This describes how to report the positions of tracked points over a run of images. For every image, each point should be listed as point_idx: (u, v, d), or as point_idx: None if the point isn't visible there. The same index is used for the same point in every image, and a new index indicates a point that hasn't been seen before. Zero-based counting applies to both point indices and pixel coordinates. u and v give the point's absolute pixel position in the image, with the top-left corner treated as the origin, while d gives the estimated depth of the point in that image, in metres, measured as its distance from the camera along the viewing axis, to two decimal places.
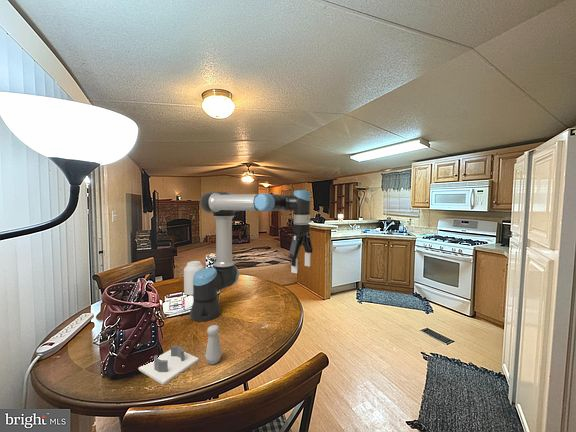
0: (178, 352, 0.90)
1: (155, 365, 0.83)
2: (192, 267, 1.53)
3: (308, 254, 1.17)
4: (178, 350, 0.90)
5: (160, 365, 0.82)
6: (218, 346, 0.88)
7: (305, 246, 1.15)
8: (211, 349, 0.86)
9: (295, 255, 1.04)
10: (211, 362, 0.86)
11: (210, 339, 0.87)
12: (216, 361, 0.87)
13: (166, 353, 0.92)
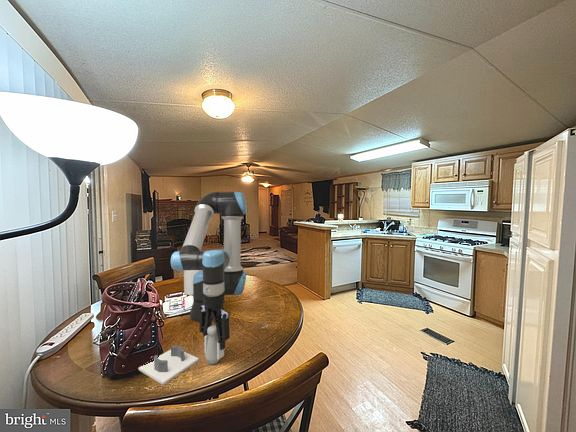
0: (178, 352, 0.90)
1: (155, 365, 0.83)
2: None
3: None
4: (178, 350, 0.90)
5: (160, 365, 0.82)
6: None
7: None
8: (211, 349, 0.86)
9: (203, 331, 0.90)
10: (211, 362, 0.86)
11: (210, 339, 0.87)
12: (217, 361, 0.87)
13: (166, 353, 0.92)
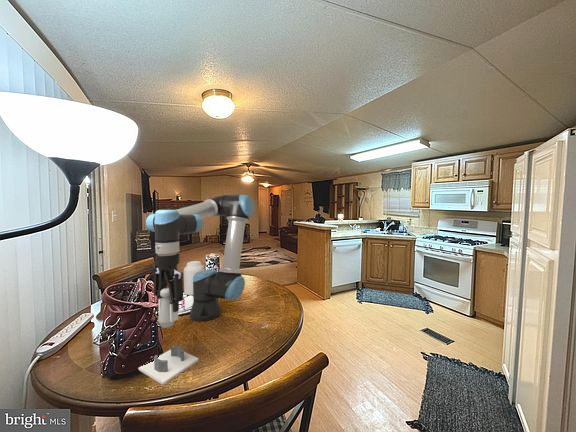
0: (178, 352, 0.90)
1: (155, 365, 0.83)
2: (192, 267, 1.53)
3: None
4: (178, 350, 0.90)
5: (160, 365, 0.82)
6: None
7: None
8: (163, 312, 0.83)
9: None
10: (163, 325, 0.83)
11: (163, 301, 0.83)
12: (170, 324, 0.84)
13: (166, 353, 0.92)
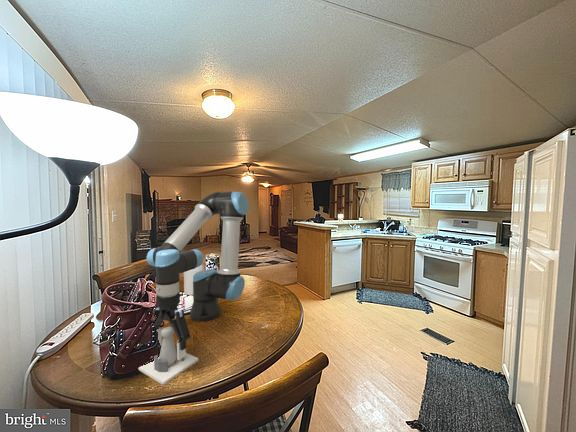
0: None
1: (155, 365, 0.83)
2: None
3: None
4: None
5: (160, 365, 0.82)
6: (172, 348, 0.85)
7: None
8: (164, 352, 0.83)
9: None
10: None
11: (164, 341, 0.84)
12: (171, 364, 0.85)
13: None
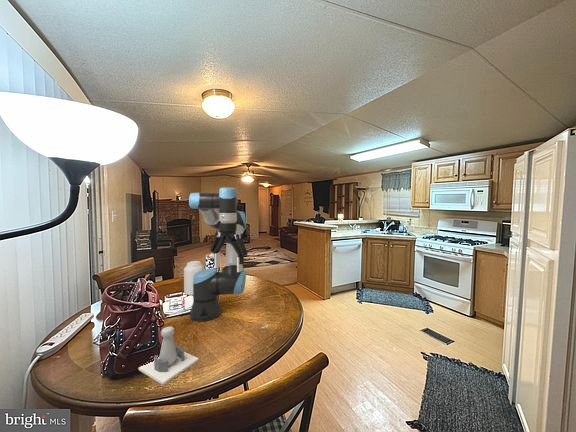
0: (178, 352, 0.90)
1: (155, 365, 0.83)
2: (192, 267, 1.53)
3: None
4: (178, 350, 0.90)
5: (160, 365, 0.82)
6: (172, 348, 0.85)
7: None
8: (164, 352, 0.83)
9: (214, 250, 1.11)
10: None
11: (164, 341, 0.84)
12: (171, 364, 0.85)
13: None
